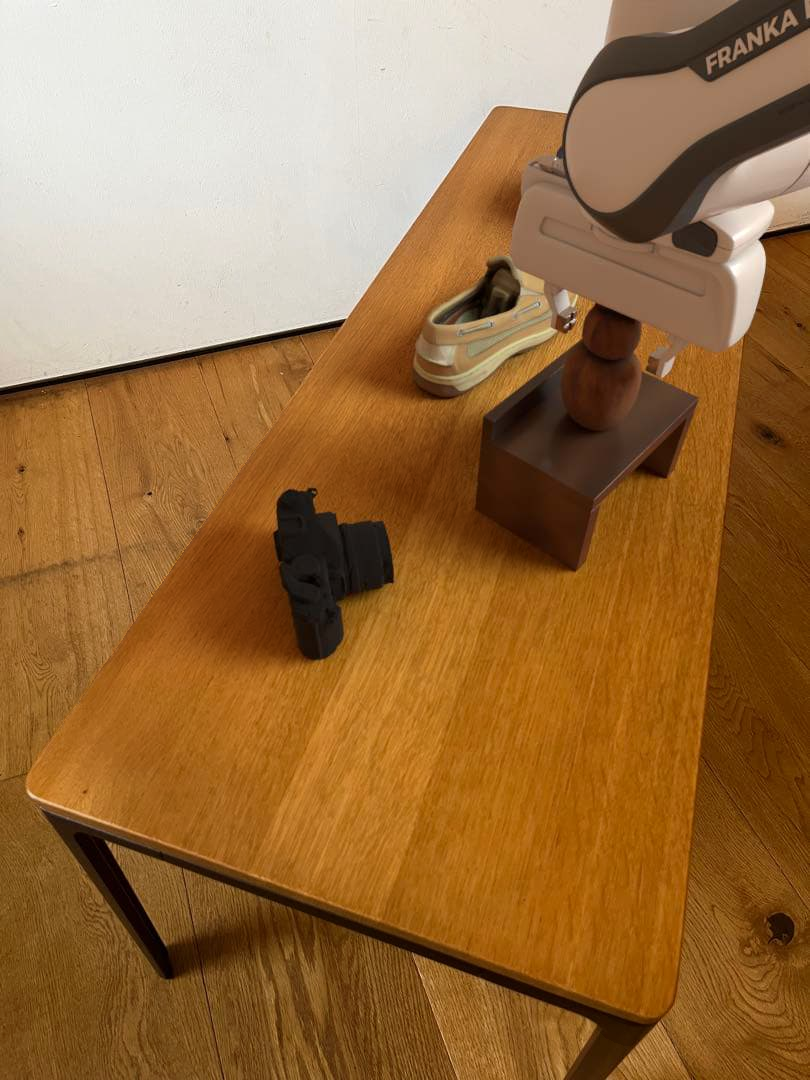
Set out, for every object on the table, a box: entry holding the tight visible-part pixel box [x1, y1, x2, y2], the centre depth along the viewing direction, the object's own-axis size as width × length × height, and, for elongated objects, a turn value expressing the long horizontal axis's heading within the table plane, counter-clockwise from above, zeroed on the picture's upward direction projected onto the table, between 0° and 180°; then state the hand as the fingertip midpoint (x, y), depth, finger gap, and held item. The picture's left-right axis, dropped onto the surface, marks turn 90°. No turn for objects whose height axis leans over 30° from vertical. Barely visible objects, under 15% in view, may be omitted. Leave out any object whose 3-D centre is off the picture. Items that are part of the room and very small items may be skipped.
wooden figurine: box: [561, 302, 643, 431], centre depth 67 cm, size 7×6×15 cm
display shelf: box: [474, 338, 700, 572], centre depth 75 cm, size 12×18×12 cm, turn 138°
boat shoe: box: [412, 254, 579, 398], centre depth 92 cm, size 10×29×11 cm, turn 144°
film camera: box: [272, 487, 395, 661], centre depth 68 cm, size 15×10×9 cm, turn 12°
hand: (608, 349), depth 67 cm, fingers open, 8 cm apart
